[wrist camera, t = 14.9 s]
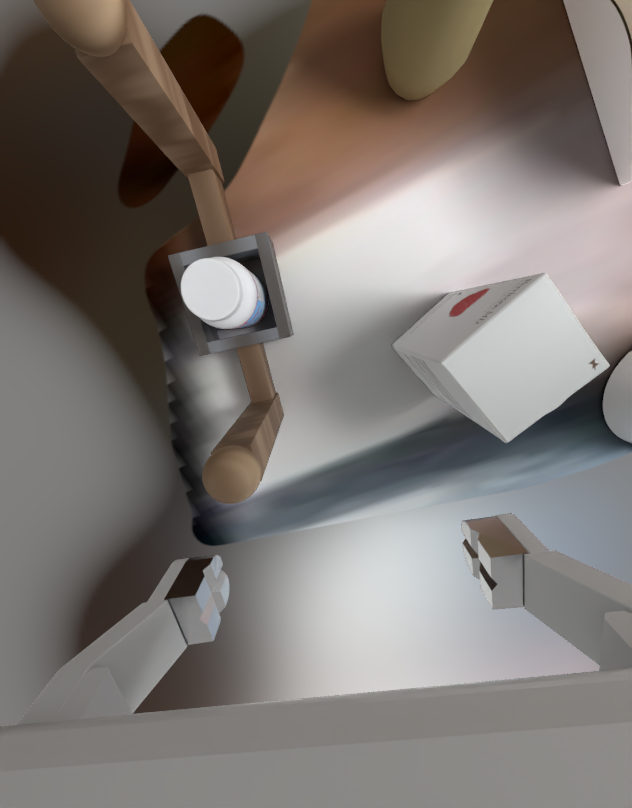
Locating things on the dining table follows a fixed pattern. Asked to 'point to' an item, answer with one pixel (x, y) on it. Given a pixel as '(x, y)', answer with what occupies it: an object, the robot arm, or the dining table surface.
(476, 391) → the supplement box
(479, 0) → the squeeze bottle
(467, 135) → the dining table surface
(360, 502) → the dining table surface
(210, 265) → the pill bottle
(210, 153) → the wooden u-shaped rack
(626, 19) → the gable box
